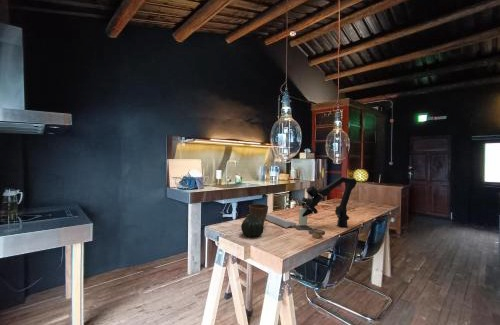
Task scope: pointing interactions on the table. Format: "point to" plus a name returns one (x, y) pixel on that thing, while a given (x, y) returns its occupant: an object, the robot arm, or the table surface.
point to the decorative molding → (279, 221)
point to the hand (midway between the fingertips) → (301, 215)
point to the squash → (252, 226)
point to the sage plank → (302, 219)
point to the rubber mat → (302, 227)
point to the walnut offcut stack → (317, 234)
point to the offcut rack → (316, 229)
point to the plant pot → (259, 211)
